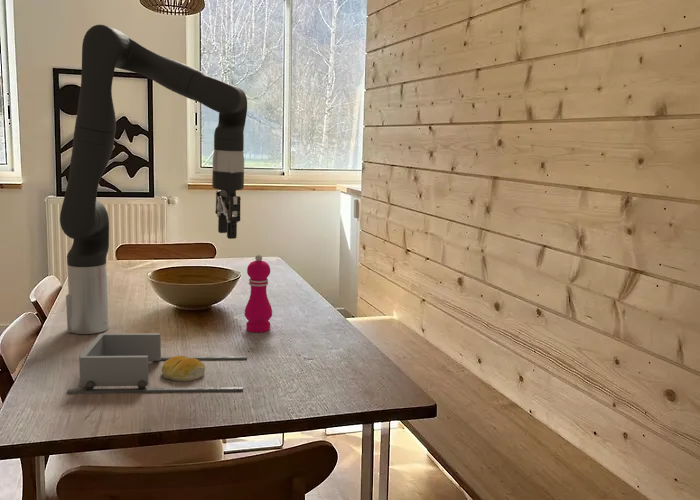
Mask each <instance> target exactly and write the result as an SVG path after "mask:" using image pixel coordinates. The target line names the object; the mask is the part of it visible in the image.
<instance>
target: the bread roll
mask: <svg viewBox="0 0 700 500" xmlns="http://www.w3.org/2000/svg"><path fill="white" fill-rule="evenodd" d="M171 357H172V358H170V359H168V360H165V362H163V364H162V367H161V373H162V377H164V379H166V380H167V379H168V380H172V381H174V382H181V383H182V382H190V381H194V380H198V379H199V378H202V377H203V376H204V374H205V371H206V370H205V369H206V367H205V364H204V363H203V362H202V360H198V359H195V358H188V357H186V356H185V355H176V356H171Z"/></svg>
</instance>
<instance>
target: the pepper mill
mask: <svg viewBox="0 0 700 500" xmlns="http://www.w3.org/2000/svg"><path fill="white" fill-rule="evenodd" d="M254 259H255V260H253V261H251V262H250V263H249V264H248V266H247V269H246V273H247V275H248V277H249V279H248V284H249V286H250V293H249V294H250V295H249V299H248V301H247V303H246V305H245V309H244V317H245V319H246V320H248V321H246V325H245V326H246V327H245V328H246V330H247V331H248V332H250V333H265V332H269V331H270V330H271V321H270V319H271V318H272V316H273V309H272V305H271V303H270V301H269V298H268V294H267V286H268V285H269V279H268V277H269V276H270V275H271V267H270V265H269V263H268V262H266V261H264V260H263V256H262V255H261V254H256V255H255V257H254Z"/></svg>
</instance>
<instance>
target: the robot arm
mask: <svg viewBox="0 0 700 500" xmlns="http://www.w3.org/2000/svg"><path fill="white" fill-rule="evenodd" d="M81 48H82V49H81V78H80V79H81V80H80V90H79V96H78V105H77V110H76V117H75V118H76V119H75V124H74V131H73V138H72V150H71V156H70V165H69V173H68V179H67V185H66V189H65V192H64V193H65V194H64V197H63V201H62V206H61V209H60V215H59V225H60V227H61V228H60V229H62V231H63V233H64V234H65V235H66V237H68V238H70V239H72V240H73V241H72V242H73V243H72V245H71V248H70V249H69V251H68V253H67V254H66V255H67V256H66V266H67V269H66V270H67V287H68V288H67V289H68V294H66V295H65V306H66V325H67V326H66V330H67V333H73V334H77V335H93V334H100V333H103V332H105V331H107V330H108V329H109V305H108V304H109V303H108V300H109V299H108V275H107V273H108V272H107V255H108V253H109V249H110V248H109V247H110V219H109V214H108V211H107V209H106V207H105V205H103V203H101V202H100V201H98V200H97V196H98V195H97V194H98V188H99V186H100V185H99V184H100V183H101V182H100V181H101V178H102V177H103V175H104V172H105V171H106V168H107V167H108V164H109V162H110V159H111V156H112V155H113V150H114V146H115V138H116V132H117V131H116V130H117V117H116V112H115V107H114V101H113V93H112V92H113V91H112V90H113V88H112V87H113V79H114V73H115V69H119V70H124V71H128V72H132V73H135V74H139V75H141V76H144V77H146V78H148V79H150V80H152V81H153V82H155V83H157V84H159V85H160V86H162V87H164V88H165V89H167V90H170V91H172V92H174V93H175V94H178V95H180V96H183V97H185V98H187V99H189V100H192V101H195V102H198V103H199V104H201V105H203V106H205V107H206V108H209V109H211V110H212V111H215V112H217V113H218V124H217V126H216V127H215V129H214V136H213V155H212V181H211V183H212V185H211V187H212V188H213V189H215V190H216V191H215V212H214V213H215V214H216V216H217V218H218V219H217V223H218V224H217V229H218V230H217V231H218V233H220V234H226V238H227V239H229V240H231V239H233V240H236V239H237V235H238V231H237V229H238V223H239V222H241V195H237V193H236V192H237V191H242V190H244V188H245V186H244V185H245V181H244V180H245V156H244V145H245V143H244V141H245V139H244V137H245V135H244V133H245V132H244V131H245V126H246V119H247V113H248V99H247V95H246V93H245V91H244V90H243V89H242V88H241V87H239V86H236V85H233V84H229V83H227V82H224V81H222V80H219V79H216V78H213V77H211V76H209V75H208V74H206V73H205V72H204V71H201V70H198V69H196V68H194V67H193V66H190V65H187V64H185V63H183V62H181V61H178V60H175V59H172V58H169V57H167V56H164V55H161V54H159V53H157V52H155V51H153V50H150V49H148V48H147V47H145V46H143V45H141V44H140V43H138V42H137V41H135V40H134V39H133V38H130V37H129V36H127V34H125V33H123V31H121V30H119V29H118V28H117V29H116V28H114V27H112V26H108V25H105V24H96V25H93V26H90V28H89V29H88V30H87V31H86V32H85V34H84V36H83V39H82V47H81Z"/></svg>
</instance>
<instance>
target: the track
mask: <svg viewBox="0 0 700 500" xmlns="http://www.w3.org/2000/svg"><path fill="white" fill-rule="evenodd" d="M172 357H173V356H161V360H160V361H167V360H168V359H170V358H172ZM186 357H188V358H195V359H198V360H199V361H219V360H220V361H223V360H224V361H225V360H226V361H231V360H233V361H235V360H238V361H239V360H240V361H241V360H243V361H244V360H245V361H246V360H248V356H247V355H238V356H237V355H226V356H224V355H222V356H220V355H219V356H218V355H217V356H215V355H213V356H211V355H210V356H205V355H204V356H203V355H202V356H201V355H199V356H197V355H196V356H193V355H191V356H190V355H189V356H186ZM199 392H200V393H201V392H204V393H206V392H207V393H209V392H211V393H212V392H214V393H215V392H218V393H219V392H221V393H222V392H244V386H224V387H223V386H221V387H220V386H216V387H211V386H210V387H148V388H147V387H145V388H138V387H134V388H133V387H132V388H131V387H130V388H127V387H126V388H125V387H124V388H122V387H121V388H93V389H86V388H68V389H67V390H66V394H67V393H68V394H126V393H127V394H128V393H130V394H131V393H132V394H136V393H137V394H138V393H142V394H143V393H199Z"/></svg>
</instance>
